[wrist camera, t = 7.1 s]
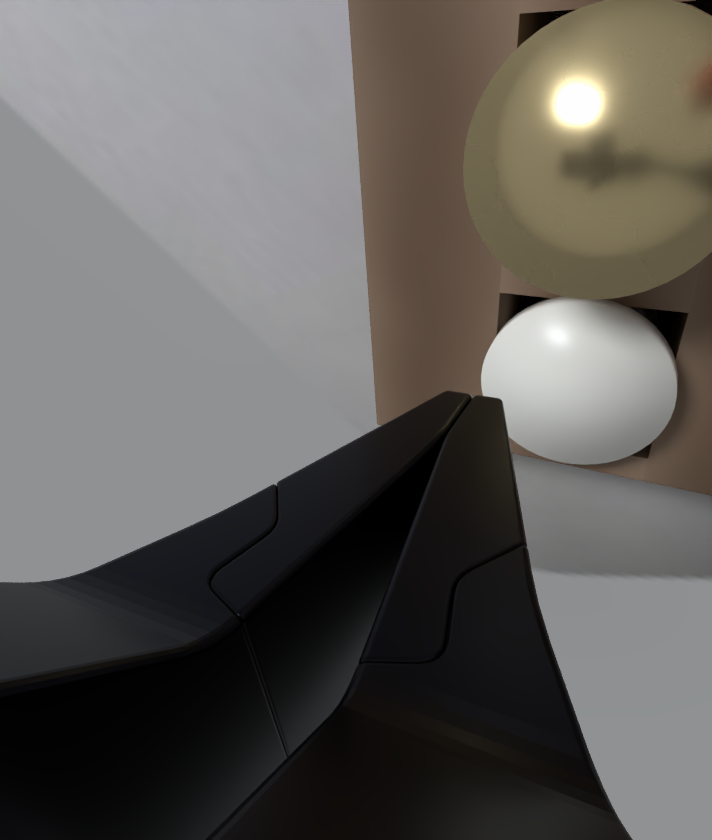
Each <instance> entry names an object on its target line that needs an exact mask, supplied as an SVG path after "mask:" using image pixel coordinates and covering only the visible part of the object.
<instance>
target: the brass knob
mask: <svg viewBox="0 0 712 840" xmlns="http://www.w3.org/2000/svg"><path fill="white" fill-rule="evenodd" d="M463 178H464V189H465V195H466V201H467V204H468V208H469V211H470V215H471V218H472V220H473V222H474V225H475V227H476V229H477V231H478V233H479V235H480V236H481V238H482V240H483V242H484V243H485V245H486V246H487V247H488V249H489V250H490V251H491V253H492V254H493V255H494V256H495V258H496V259H497V260H498V261H499V262H501V263H502V264H503V265H504V266H505V267H506V268H507V269H508V270H509V271H511V272H512V273H513V274H515V275H516V276H517V277H519V278H520V279H522V280H524V281H525V282H527V283H529V284H530V285H532V286H535V287H537V288H539V289H542V290H544V291H546V292H550V293H553V294H556V295H560V296H564V297H570V298H576V299H591V300H599V299H614V298H619V297H625V296H630V295H634V294H637V293H641V292H644V291H648V290H650V289H653V288H655V287H658V286H660V285H662V284H665V283H667V282H669V281H671V280H672V279H674V278H676V277H678V276H680V275H681V274H683V273H685V272H686V271H688V270H689V269H691V268H692V267H693V266H695V265H696V264H698V263H699V262H701V261H702V260H703V259H704V258H705V257H706V256H707V255H709V254H710V253H711V252H712V16H711V15H709V14H708V13H706V12H704V11H702V10H700V9H698V8H696V7H694V6H692V5H689V4H686V3H683V2H680V1H676V0H604V1H601V2H597V3H594V4H591V5H587V6H584V7H581V8H579V9H577V10H575V11H572V12H570V13H568V14H566V15H563V16H561V17H559V18H558V19H556V20H554V21H553V22H551V23H549V24H548V25H546V26H544V27H543V28H541V29H540V30H538V31H537V32H536V33H535V34H533V35H532V36H531V37H530V38H528V39H527V40H526V41H525V42H523V43H522V44H521V45H520V46H519V47H518V48H517V49H516V50H515V51H514V52H513V53H512V54H511V55H510V56H509V57H508V58H507V59H506V61H505V62H504V63H503V65H502V66H501V67H500V68H499V70H498V71H497V72H496V73H495V75H494V76H493V78H492V79H491V81H490V83H489V84H488V86H487V88H486V89H485V91H484V92H483V94H482V97H481V99H480V101H479V103H478V105H477V107H476V109H475V112H474V115H473V118H472V121H471V124H470V127H469V130H468V134H467V139H466V144H465V150H464V161H463Z"/></svg>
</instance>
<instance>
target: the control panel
mask: <svg viewBox="0 0 712 840" xmlns="http://www.w3.org/2000/svg"><path fill="white" fill-rule="evenodd" d="M601 1H604V0H348V6H349V20H350V35H351V49H352V64H353V79H354V93H355V108H356V122H357V137H358V151H359V166H360V180H361V195H362V209H363V224H364V238H365V253H366V267H367V282H368V296H369V311H370V326H371V340H372V355H373V369H374V384H375V398H376V413H377V425H383V424H385V423H387V422H389V421H391V420H393V419H394V418H396V417H398V416H400V415H402V414H404V413H406V412H407V411H409V410H411V409H413V408H415V407H417V406H418V405H420V404H422V403H424V402H426V401H428V400H429V399H431V398H433V397H435V396H437V395H439V394H441V393H442V392H445V391H455V392H461V393H468V394H471V395H472V396H473V397H474V396H476V395H481V396H483V393H482V387H481V373H482V366H483V363H484V359H485V356H486V354H487V352H488V350H489V348H490V346H491V344H492V343H493V341H494V339H495V337H496V336H497V334H498V333H499V331H500V330H501V328H502V327H503V326H504V325H505V324H506V323H507V322H508V321H509V320H510V319H511V318H512V317H514V316H515V315H516V314H517V313H519V312H521V311H522V305H523V295H527V296H536V297H545V298H556V297H561V296H560V295H556V294H553V293H550V292H546V291H544V290H542V289H539V288H537V287H535V286H532V285H530V284H529V283H527V282H525V281H524V280H522V279H520V278H519V277H517V276H516V275H515V274H513V273H512V272H511V271H509V270H508V269H507V268H506V267H505V266H504V265H503V264H502V263H501V262H499V261H498V260H497V259H496V258H495V256H494V255H493V254H492V253H491V251H490V250H489V249H488V247H487V246H486V245H485V243H484V242H483V240H482V238H481V236H480V235H479V233H478V231H477V229H476V227H475V225H474V222H473V220H472V218H471V215H470V211H469V208H468V204H467V201H466V195H465V189H464V178H463V161H464V150H465V144H466V139H467V134H468V130H469V127H470V124H471V121H472V118H473V115H474V112H475V109H476V107H477V105H478V103H479V101H480V99H481V97H482V94H483V92H484V91H485V89H486V88H487V86H488V84H489V83H490V81H491V79H492V78H493V76H494V75H495V73H496V72H497V71H498V70H499V68H500V67H501V66H502V65H503V63H504V62H505V61H506V59H507V58H508V57H509V56H510V55H511V54H512V53H513V52H514V51H515V50H516V49H517V48H518V47H519V46H520V45H521V44H522V43H523V42H525V41H526V40H527V39H528V38H530V37H531V36H532V35H533V34H535V33H536V32H537V31H538V30H540V29H541V28H543V27H544V26H546V25H548V24H549V23H550V15H551V11H561V10H575V9H579V8H581V7H584V6H587V5H591V4H594V3H597V2H601ZM676 1H680V2H681V1H694V0H676ZM608 300H611V301H615V302H617V303H620V304H622V305H625V306H629V307H638V308H647V309H657V310H666V311H675V312H677V313H676V316H675V320H674V324H673V328H672V331H671V335H670V339H669V343H668V344H669V346H670V348H671V350H672V352H673V355H674V358H675V361H676V366H677V372H678V382H677V398H676V403H675V408H674V411H673V413H672V416H671V419H670V420H669V422H668V424H667V425H666V427H665V428H664V430H663V431H662V432H661V433H660V435H659V436H658V437H657V438H656V439H655V440H653V441H652V442H651V443H650V444H649V445H647V446H646V447H644V448H643V449H642V450H640V451H638V452H636V453H634V454H632V455H630V456H628V457H625V458H622V459H620V460H616V461H612V462H608V463H601V464H589V465H581V464H569V463H563V462H558V461H554V460H550V459H547V458H545V457H542V456H539V455H537V454H535V453H533V452H531V451H529V450H527V449H525V448H524V447H522V446H520V445H519V444H517V443H516V442H515V441H513V440H512V439H511V438H510V437H509V442H510V448H511V453H514V454H519V455H523V456H528V457H533V458H538V459H542V460H547V461H552V462H556V463H561V464H566V465H571V466H575V467H580V468H585V469H589V470H594V471H599V472H604V473H608V474H613V475H618V476H622V477H627V478H632V479H637V480H641V481H646V482H651V483H655V484H660V485H665V486H670V487H674V488H679V489H684V490H688V491H693V492H698V493H703V494H707V495H712V252H711V253H710V254H709V255H707V256H706V257H705V258H704V259H703V260H702V261H701V262H699V263H698V264H696V265H695V266H693V267H692V268H691V269H689V270H688V271H686V272H685V273H683V274H681V275H680V276H678V277H676V278H674V279H672V280H671V281H669V282H667V283H665V284H662V285H660V286H658V287H655V288H653V289H650V290H648V291H644V292H641V293H637V294H634V295H630V296H625V297H619V298H614V299H608Z"/></svg>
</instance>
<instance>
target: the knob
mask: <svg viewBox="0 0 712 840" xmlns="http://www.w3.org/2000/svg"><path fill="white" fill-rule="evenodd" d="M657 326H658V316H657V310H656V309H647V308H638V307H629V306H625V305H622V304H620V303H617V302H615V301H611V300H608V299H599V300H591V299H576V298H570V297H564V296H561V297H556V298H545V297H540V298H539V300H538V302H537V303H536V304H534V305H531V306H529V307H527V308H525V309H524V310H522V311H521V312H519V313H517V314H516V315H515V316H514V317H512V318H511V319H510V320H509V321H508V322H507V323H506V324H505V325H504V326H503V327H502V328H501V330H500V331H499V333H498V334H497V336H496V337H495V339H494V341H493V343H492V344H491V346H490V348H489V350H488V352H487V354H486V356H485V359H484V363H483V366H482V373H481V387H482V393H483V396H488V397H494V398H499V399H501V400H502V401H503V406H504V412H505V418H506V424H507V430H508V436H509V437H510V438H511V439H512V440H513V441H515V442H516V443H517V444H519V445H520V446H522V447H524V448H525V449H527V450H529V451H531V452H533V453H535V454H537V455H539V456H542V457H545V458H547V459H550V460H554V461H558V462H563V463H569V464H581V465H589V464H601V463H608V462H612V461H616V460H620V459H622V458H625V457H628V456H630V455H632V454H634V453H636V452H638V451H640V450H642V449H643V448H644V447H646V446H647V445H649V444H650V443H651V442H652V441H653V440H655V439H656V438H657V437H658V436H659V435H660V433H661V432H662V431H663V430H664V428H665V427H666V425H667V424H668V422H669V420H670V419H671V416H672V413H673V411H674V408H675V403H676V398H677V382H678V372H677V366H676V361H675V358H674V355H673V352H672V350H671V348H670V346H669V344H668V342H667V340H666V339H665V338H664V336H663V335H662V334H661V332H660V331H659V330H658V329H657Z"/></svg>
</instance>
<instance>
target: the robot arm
mask: <svg viewBox="0 0 712 840" xmlns="http://www.w3.org/2000/svg"><path fill="white" fill-rule="evenodd" d="M0 840H632V838H631V837H630V835H629V834H628V832H627V831H626V829H625V827H624V826H623V824H622V823H621V821H620V820H619V818H618V816H617V814H616V812H615V810H614V809H613V807H612V805H611V803H610V800H609V798H608V796H607V794H606V792H605V790H604V788H603V786H602V783H601V781H600V778H599V776H598V773H597V771H596V769H595V766H594V764H593V761H592V758H591V756H590V753H589V751H588V748H587V745H586V743H585V740H584V737H583V734H582V731H581V728H580V725H579V723H578V720H577V717H576V714H575V711H574V708H573V705H572V703H571V700H570V697H569V694H568V691H567V689H566V685H565V683H564V680H563V677H562V674H561V671H560V668H559V666H558V663H557V660H556V657H555V654H554V652H553V649H552V646H551V643H550V640H549V636H548V633H547V630H546V626H545V623H544V620H543V617H542V613H541V610H540V607H539V603H538V598H537V594H536V589H535V585H534V580H533V575H532V571H531V565H530V559H529V553H528V549H527V543H526V537H525V531H524V525H523V519H522V513H521V507H520V501H519V495H518V489H517V483H516V477H515V471H514V465H513V459H512V453H511V448H510V442H509V436H508V430H507V424H506V418H505V412H504V406H503V401H502V400H501V399H499V398H494V397H488V396H481V395H476V396H474V397H473V396H472V395H471V394H468V393H461V392H455V391H445V392H442V393H441V394H439V395H437V396H435V397H433V398H431V399H429V400H428V401H426V402H424V403H422V404H420V405H418V406H417V407H415V408H413V409H411V410H409V411H407V412H406V413H404V414H402V415H400V416H398V417H396V418H394V419H393V420H391V421H389V422H387V423H385V424H383V425H382V426H380V427H378V428H376V429H374V430H372V431H371V432H369V433H367V434H365V435H363V436H361V437H360V438H358V439H356V440H354V441H352V442H350V443H348V444H347V445H345V446H343V447H341V448H339V449H338V450H336V451H334V452H332V453H330V454H328V455H327V456H325V457H323V458H321V459H319V460H317V461H315V462H314V463H312V464H310V465H308V466H306V467H304V468H303V469H301V470H299V471H297V472H295V473H293V474H291V475H290V476H288V477H286V478H284V479H282V480H281V481H279V482H278V483H277V486H276V485H274V484H273V485H271V486H269V487H267V488H266V489H263V490H262V491H260V492H258V493H256V494H254V495H252V496H251V497H249V498H247V499H245V500H243V501H241V502H239V503H237V504H235V505H233V506H231V507H229V508H227V509H225V510H223V511H221V512H219V513H217V514H215V515H213V516H211V517H208V518H206V519H204V520H202V521H200V522H198V523H196V524H193V525H191V526H189V527H187V528H185V529H182V530H180V531H178V532H176V533H173V534H171V535H169V536H167V537H164V538H162V539H160V540H158V541H155V542H153V543H151V544H149V545H146V546H144V547H142V548H140V549H137V550H135V551H133V552H130V553H128V554H126V555H124V556H121V557H119V558H117V559H115V560H112V561H111V562H108V563H105V564H103V565H101V566H99V567H96V568H94V569H91V570H89V571H86V572H84V573H80V574H77V575H74V576H70V577H67V578H62V579H57V580H52V581H42V582H28V583H12V582H10V583H9V582H2V583H1V582H0Z"/></svg>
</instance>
